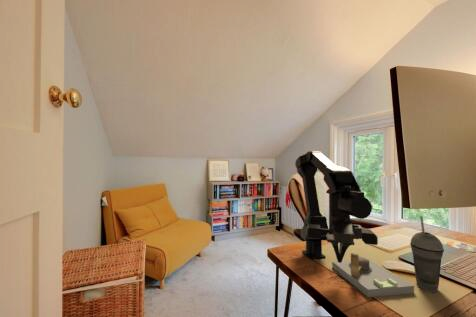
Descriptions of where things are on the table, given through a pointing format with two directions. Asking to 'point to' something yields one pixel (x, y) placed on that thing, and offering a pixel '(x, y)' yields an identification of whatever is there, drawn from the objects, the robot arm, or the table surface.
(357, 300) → the table surface
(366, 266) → the cam lever
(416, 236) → the beverage cup
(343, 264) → the stand base
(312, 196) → the robot arm
